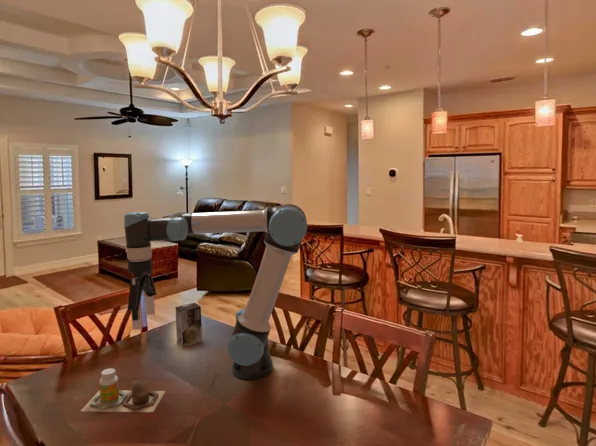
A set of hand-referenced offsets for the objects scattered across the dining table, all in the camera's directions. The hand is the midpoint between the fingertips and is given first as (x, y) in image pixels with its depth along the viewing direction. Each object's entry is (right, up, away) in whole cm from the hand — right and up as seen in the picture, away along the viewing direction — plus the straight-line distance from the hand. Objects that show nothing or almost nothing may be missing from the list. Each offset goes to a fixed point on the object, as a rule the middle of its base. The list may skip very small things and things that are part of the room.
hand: (144, 321), depth 138 cm
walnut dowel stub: (+2, -23, -8) cm, 25 cm away
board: (-3, -25, -8) cm, 26 cm away
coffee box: (+5, -19, +40) cm, 44 cm away
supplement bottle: (-8, -23, -8) cm, 26 cm away
